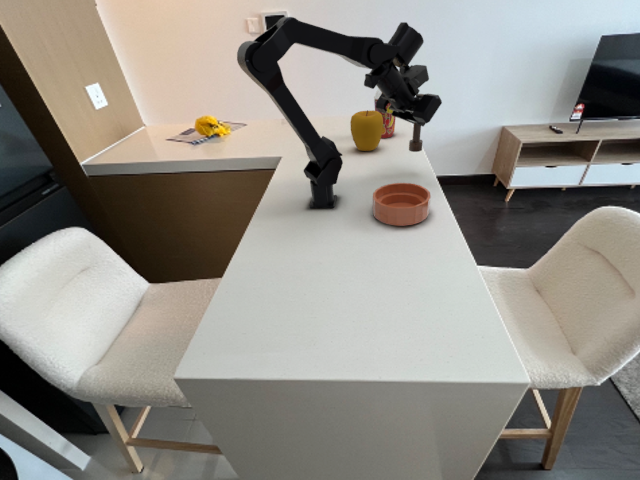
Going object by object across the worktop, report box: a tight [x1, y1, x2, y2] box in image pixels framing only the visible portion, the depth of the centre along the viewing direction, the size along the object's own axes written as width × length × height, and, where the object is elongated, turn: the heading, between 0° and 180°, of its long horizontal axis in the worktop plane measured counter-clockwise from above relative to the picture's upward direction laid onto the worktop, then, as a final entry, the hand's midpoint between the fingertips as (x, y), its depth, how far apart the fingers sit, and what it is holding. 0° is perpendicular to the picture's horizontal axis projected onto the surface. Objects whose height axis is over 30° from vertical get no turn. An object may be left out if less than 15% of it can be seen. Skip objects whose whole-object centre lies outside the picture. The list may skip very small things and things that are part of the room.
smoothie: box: [373, 88, 397, 139], centre depth 123 cm, size 8×8×20 cm
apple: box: [349, 109, 383, 152], centre depth 115 cm, size 11×11×13 cm
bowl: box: [372, 182, 432, 227], centre depth 80 cm, size 13×13×5 cm
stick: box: [408, 93, 425, 153], centre depth 91 cm, size 4×4×14 cm
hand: (421, 124), depth 92 cm, fingers closed on stick, 2 cm apart
